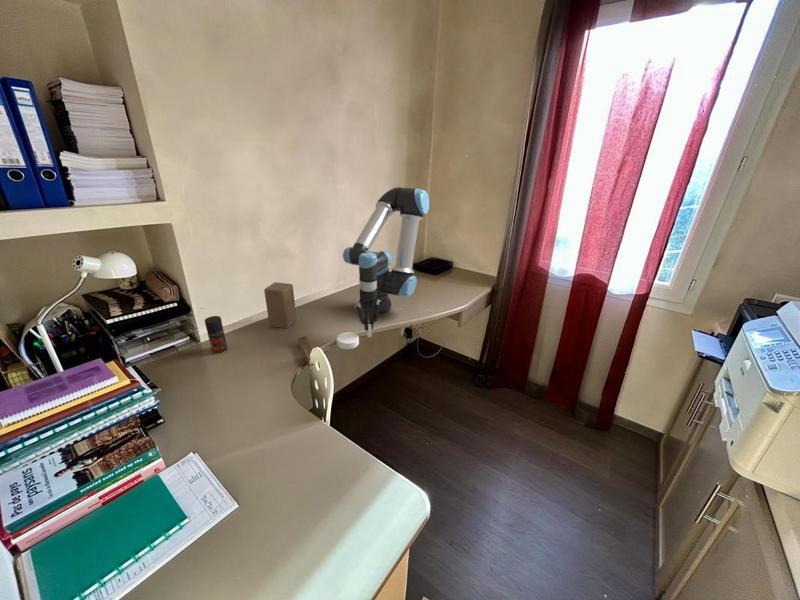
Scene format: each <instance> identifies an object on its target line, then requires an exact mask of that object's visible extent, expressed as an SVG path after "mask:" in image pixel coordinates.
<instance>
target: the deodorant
mask: <svg viewBox="0 0 800 600" xmlns="http://www.w3.org/2000/svg"><path fill="white" fill-rule="evenodd" d="M222 322H223V321H222V318H221V316H219V315H213V316H212V315H211V316H208V317H206V318H205V319H204V324H205V327H206V332H207V333H206V334H207V336H208V340H209V345H210V349H211V353H212V352H213V353H212V354H214V353H221V354H223V353H222V352H224V351H225V352H227V351H228V345H227V341H226V336H225V331H224V327H223V323H222ZM226 350H227V351H226ZM225 352H224V353H225Z"/></svg>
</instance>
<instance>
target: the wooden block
mask: <svg viewBox="0 0 800 600" xmlns="http://www.w3.org/2000/svg"><path fill="white" fill-rule="evenodd" d="M263 291H264V292H263V293H264V297H265V304H266V311H267V319H268V324H269V326H270V327H275V328H280V329H281V328H282V329H288V328H290V327H291V326H292V325H293V324H294V323H295V322H296V321H297V309H296V303H295V294H294V285H293V283H286V282H273V283H272V284H270V285H269V286H267V287H266V288H264V290H263Z"/></svg>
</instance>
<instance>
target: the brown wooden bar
mask: <svg viewBox="0 0 800 600" xmlns="http://www.w3.org/2000/svg"><path fill="white" fill-rule="evenodd" d="M297 343H298V346H299V348H300V350H301V352H302V354H303V356H304V359H305V361H306V362H307V365H308V366H309V360H310V353H311V351H312V349H313V348H314V346H313V344H312V342H311V341H310V339H309V337H308V335H303V336H299V337H297Z"/></svg>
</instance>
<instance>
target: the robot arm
mask: <svg viewBox="0 0 800 600" xmlns="http://www.w3.org/2000/svg"><path fill="white" fill-rule="evenodd" d="M429 210H430V198H429V194H428V192H427V191H426V190H424V189H421V188H415V187H414V188H411V187H400V186H399V187H398V186H397V187H394V188H391V189H388V191H386V192H385V193H384V194H382V196H381V197H379V198H378V200H377V201H376V203H375V210H374V211H373V213H372V214H371V215H370V217H369V219H368V221H367V223H366V224H365V226H364V227H363V229H362V231H361V233H360V234H359V236H358V237H357V239H356V241H355V242H354V243H353V246H352V247H351V246H348V247H346V248H344V250H343V253H342V258H343V260H344V262H345V263H347V264H350V265H353V266H358V273H359V275H358V276H359V277H358V280H359V300H358V303H355V304H354V305H353V307H354V308H355V309H356V312H357V316H358V318H359V323H361V325H363V326H364V330H365V331H366V336H367V338H372V335H373V334H372V330H373V329H374V324H375V322H378V318H379V314H384V313H388V312H390V311H391V310H392V301H391V299H390V296H389V295H394V296H398V297H401V298H409V297H411V296H412V295H413V294H414V292H415V289H416V287H417V283H418V281H417V277H416V276H415V275H414V274H415V271H414V270H413V262H414V255H415V250H416V243H417V238H418V231H419V225H420V221H421V220H423V219H424V215H427V214H428V211H429ZM395 212H399V216H400V217H401V226H400V231H399V237H398V238H399V239H398V245H397V252H396V258H395V264H394V266H393V267H392V268H391V271H390V269H389V266H391V264H392V262H393V259H392V255H391V253H390V252H389V251H387V250H380V251H371V248H372V246H373V245H374V243H375V241H376V239H377V238H378V236H379V235H380V233H381V231H382V229H383V227H384V226H385V224H386V223H387V221H388V219H389V217H391V216H393V214H394V213H395ZM361 307H362V309H363V312H362V310H361Z"/></svg>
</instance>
